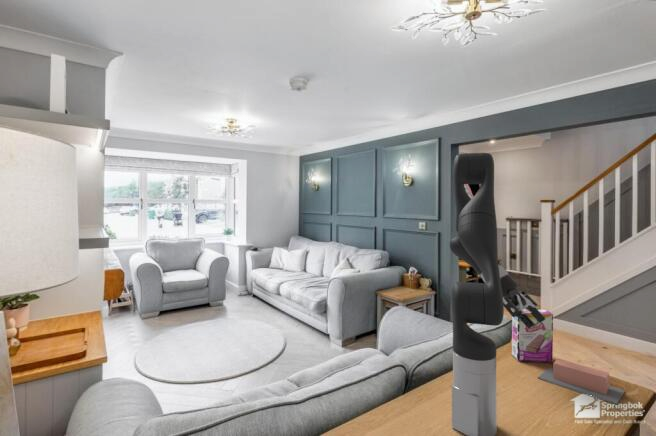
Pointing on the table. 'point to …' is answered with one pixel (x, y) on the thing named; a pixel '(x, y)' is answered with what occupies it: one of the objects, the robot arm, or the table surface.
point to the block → (581, 376)
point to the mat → (611, 396)
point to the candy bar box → (533, 338)
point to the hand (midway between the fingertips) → (537, 323)
